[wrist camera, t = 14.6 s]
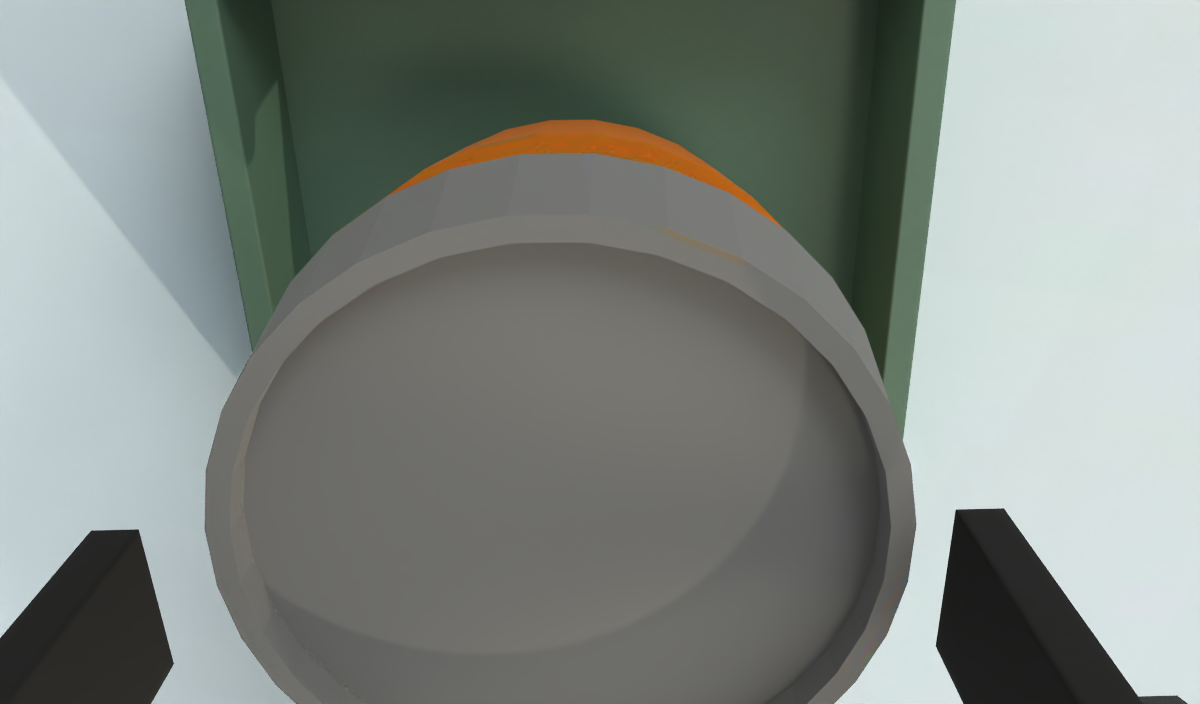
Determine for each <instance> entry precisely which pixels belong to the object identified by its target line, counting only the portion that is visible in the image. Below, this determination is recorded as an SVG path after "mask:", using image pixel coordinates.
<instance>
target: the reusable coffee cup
mask: <svg viewBox="0 0 1200 704" xmlns="http://www.w3.org/2000/svg"><path fill="white" fill-rule="evenodd" d="M915 530H916V516H915V505H914V494H913V483H912V472H911V464H910V461H909V458H908V455H907V452H906V449H905V446H904V443H903V440H902V438H901V435H900V432H899V429H898V426H897V423H896V420H895V417H894V414H893V411H892V408H891V405H890V402H889V399H888V396H887V393H886V390H885V387H884V385H883V382H882V379H881V376H880V373H879V370H878V367H877V364H876V361H875V358H874V355H873V352H872V349H871V346H870V343H869V340H868V338H867V335H866V332H865V329H864V328H863V326H862V324H861V323H860V321H859V320H858V318H857V316H856V315H855V313H854V312H853V310H852V308H851V307H850V305H849V303H848V302H847V300H846V299H845V297H844V295H843V294H842V292H841V291H840V289H839V287H838V286H837V284H836V282H835V281H834V279H833V278H832V277H831V276H830V275H829V273H828V272H827V271H826V270H825V269H824V268H823V267H822V266H821V265H820V264H819V263H818V262H817V261H816V260H815V259H814V258H813V257H812V256H811V255H810V254H809V253H808V252H807V251H806V250H805V249H804V248H803V247H802V246H801V245H800V244H799V243H798V242H797V241H796V240H795V239H794V238H793V237H792V236H791V235H790V234H789V233H788V232H787V231H786V230H785V229H783V228H782V227H781V226H780V225H779V224H778V223H777V222H776V220H775V219H774V218H773V217H772V216H771V215H770V214H769V213H768V212H767V211H766V210H765V209H764V208H763V207H762V206H761V205H760V204H759V203H758V202H757V201H756V200H755V199H754V198H753V197H752V196H750V195H749V194H748V193H746V192H745V191H744V190H742V189H741V188H740V187H738V186H737V185H736V184H734V183H733V182H732V181H730V180H729V179H728V178H727V177H725V176H724V175H723V174H721V173H720V172H719V171H717V170H716V169H715V168H713V167H712V166H710V165H709V164H707V163H706V162H704V161H703V160H701V159H700V158H698V157H697V156H695V155H694V154H692V153H691V152H689V151H688V150H686V149H685V148H683V147H682V146H680V145H679V144H676V143H674V142H671V141H669V140H666V139H664V138H661V137H659V136H657V135H654V134H652V133H649V132H647V131H644V130H642V129H639V128H636V127H630V126H625V125H620V124H615V123H609V122H604V121H599V120H548V121H543V122H539V123H534V124H529V125H525V126H520V127H515V128H510V129H506V130H504V131H502V132H499V133H497V134H495V135H492V136H490V137H488V138H486V139H483V140H481V141H479V142H476V143H474V144H472V145H470V146H467V147H465V148H463V149H462V150H460V151H458V152H456V153H454V154H452V155H450V156H448V157H446V158H445V159H443V160H441V161H439V162H437V163H435V164H433V165H431V166H430V167H428V168H426V169H424V170H423V171H421V172H420V173H419V174H417V175H416V176H414V177H413V178H412V179H410V180H409V181H407V182H406V183H405V184H403V185H402V186H400V187H399V188H398V189H396V190H395V191H393V192H392V193H391V194H389V195H388V196H386V197H385V198H384V199H382V200H381V201H379V202H378V203H377V204H375V205H374V206H372V207H371V208H370V209H368V210H367V211H365V212H364V213H363V214H361V215H360V216H358V217H357V218H356V219H354V220H353V221H352V222H350V223H349V224H347V225H346V226H345V227H343V228H342V229H340V230H339V231H338V232H336V233H335V234H333V235H332V236H331V237H330V238H329V240H328V241H327V242H326V243H325V244H324V245H323V246H322V247H321V248H320V250H319V251H318V252H317V253H316V254H315V255H314V256H313V257H312V259H311V260H310V261H309V262H308V263H307V264H306V265H305V266H304V267H303V269H302V270H301V271H300V272H299V273H298V274H297V275H296V276H295V278H294V279H293V280H292V281H291V282H290V284H289V286H288V287H287V289H286V291H285V293H284V295H283V296H282V298H281V300H280V302H279V304H278V306H277V307H276V309H275V311H274V313H273V315H272V317H271V318H270V320H269V322H268V324H267V326H266V327H265V329H264V331H263V333H262V335H261V337H260V339H259V340H258V342H257V344H256V346H255V348H254V350H253V352H252V354H251V356H250V358H249V360H248V361H247V363H246V365H245V367H244V369H243V371H242V373H241V375H240V377H239V379H238V381H237V382H236V384H235V386H234V388H233V390H232V392H231V394H230V396H229V398H228V400H227V402H226V403H225V405H224V407H223V409H222V411H221V415H220V419H219V423H218V426H217V430H216V434H215V438H214V441H213V445H212V449H211V453H210V456H209V460H208V464H207V468H206V490H205V532H206V537H207V541H208V546H209V551H210V555H211V560H212V564H213V569H214V573H215V578H216V583H217V586H218V589H219V591H220V593H221V595H222V597H223V599H224V601H225V604H226V606H227V608H228V610H229V612H230V614H231V617H232V619H233V621H234V623H235V625H236V627H237V630H238V632H239V634H240V636H241V638H242V639H243V641H244V642H245V643H246V645H247V646H248V648H249V649H250V650H251V652H252V653H253V654H254V656H255V657H256V658H257V660H258V661H259V662H260V664H261V665H262V667H263V668H264V669H265V671H266V672H267V673H268V675H269V676H270V677H271V679H272V680H273V681H274V683H275V684H276V685H277V686H278V687H279V688H280V689H281V690H282V691H283V692H284V693H285V694H286V695H287V696H289V697H290V698H291V699H292V700H293V701H294V702H295V703H296V704H834V703H835V702H836V701H837V700H838V699H839V698H840V697H841V696H842V695H843V694H844V693H845V692H846V691H847V690H848V689H849V688H850V687H851V686H852V685H853V684H854V683H855V682H856V680H857V679H858V677H859V676H860V674H861V673H862V671H863V670H864V668H865V667H866V665H867V664H868V662H869V661H870V659H871V658H872V656H873V655H874V653H875V652H876V650H877V649H878V647H879V646H880V644H881V643H882V641H883V640H884V638H885V637H886V635H887V633H888V631H889V628H890V626H891V623H892V621H893V618H894V615H895V613H896V610H897V608H898V605H899V603H900V600H901V598H902V595H903V593H904V590H905V588H906V585H907V583H908V577H909V570H910V563H911V557H912V550H913V543H914V537H915Z"/></svg>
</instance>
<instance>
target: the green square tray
mask: <svg viewBox="0 0 1200 704" xmlns="http://www.w3.org/2000/svg"><path fill="white" fill-rule="evenodd" d="M955 4H956V0H185V5H186V10H187V15H188V20H189V26H190V31H191V36H192V41H193V46H194V51H195V57H196V62H197V67H198V72H199V77H200V83H201V88H202V93H203V98H204V103H205V109H206V114H207V119H208V124H209V129H210V135H211V140H212V145H213V150H214V155H215V161H216V166H217V171H218V176H219V181H220V187H221V192H222V197H223V202H224V207H225V212H226V218H227V223H228V228H229V233H230V238H231V244H232V249H233V254H234V259H235V264H236V270H237V275H238V280H239V285H240V290H241V296H242V301H243V306H244V311H245V316H246V322H247V327H248V332H249V337H250V342H251V348H252V352H253V350H254V348H255V346H256V344H257V342H258V340H259V339H260V337H261V335H262V333H263V331H264V329H265V327H266V326H267V324H268V322H269V320H270V318H271V317H272V315H273V313H274V311H275V309H276V307H277V306H278V304H279V302H280V300H281V298H282V296H283V295H284V293H285V291H286V289H287V287H288V286H289V284H290V282H291V281H292V280H293V279H294V278H295V276H296V275H297V274H298V273H299V272H300V271H301V270H302V269H303V267H304V266H305V265H306V264H307V263H308V262H309V261H310V260H311V259H312V257H313V256H314V255H315V254H316V253H317V252H318V251H319V250H320V248H321V247H322V246H323V245H324V244H325V243H326V242H327V241H328V240H329V238H330V237H331V236H332V235H333V234H335V233H336V232H338V231H339V230H340V229H342V228H343V227H345V226H346V225H347V224H349V223H350V222H352V221H353V220H354V219H356V218H357V217H358V216H360V215H361V214H363V213H364V212H365V211H367V210H368V209H370V208H371V207H372V206H374V205H375V204H377V203H378V202H379V201H381V200H382V199H384V198H385V197H386V196H388V195H389V194H391V193H392V192H393V191H395V190H396V189H398V188H399V187H400V186H402V185H403V184H405V183H406V182H407V181H409V180H410V179H412V178H413V177H414V176H416V175H417V174H419V173H420V172H421V171H423V170H424V169H426V168H428V167H430V166H431V165H433V164H435V163H437V162H439V161H441V160H443V159H445V158H446V157H448V156H450V155H452V154H454V153H456V152H458V151H460V150H462V149H463V148H465V147H467V146H470V145H472V144H474V143H476V142H479V141H481V140H483V139H486V138H488V137H490V136H492V135H495V134H497V133H499V132H502V131H504V130H506V129H510V128H515V127H520V126H525V125H529V124H534V123H539V122H543V121H548V120H599V121H604V122H609V123H615V124H620V125H625V126H630V127H636V128H639V129H642V130H644V131H647V132H649V133H652V134H654V135H657V136H659V137H661V138H664V139H666V140H669V141H671V142H674V143H676V144H679V145H680V146H682V147H683V148H685V149H686V150H688V151H689V152H691V153H692V154H694V155H695V156H697V157H698V158H700V159H701V160H703V161H704V162H706V163H707V164H709V165H710V166H712V167H713V168H715V169H716V170H717V171H719V172H720V173H721V174H723V175H724V176H725V177H727V178H728V179H729V180H730V181H732V182H733V183H734V184H736V185H737V186H738V187H740V188H741V189H742V190H744V191H745V192H746V193H748V194H749V195H750V196H752V197H753V198H754V199H755V200H756V201H757V202H758V203H759V204H760V205H761V206H762V207H763V208H764V209H765V210H766V211H767V212H768V213H769V214H770V215H771V216H772V217H773V218H774V219H775V220H776V222H777V223H778V224H779V225H780V226H781V227H782V228H783V229H785V230H786V231H787V232H788V233H789V234H790V235H791V236H792V237H793V238H794V239H795V240H796V241H797V242H798V243H799V244H800V245H801V246H802V247H803V248H804V249H805V250H806V251H807V252H808V253H809V254H810V255H811V256H812V257H813V258H814V259H815V260H816V261H817V262H818V263H819V264H820V265H821V266H822V267H823V268H824V269H825V270H826V271H827V272H828V273H829V275H830V276H831V277H832V278H833V279H834V281H835V282H836V284H837V286H838V287H839V289H840V291H841V292H842V294H843V295H844V297H845V299H846V300H847V302H848V303H849V305H850V307H851V308H852V310H853V312H854V313H855V315H856V316H857V318H858V320H859V321H860V323H861V324H862V326H863V328H864V329H865V332H866V335H867V338H868V340H869V343H870V346H871V349H872V352H873V355H874V358H875V361H876V364H877V367H878V370H879V373H880V376H881V379H882V382H883V385H884V387H885V390H886V393H887V396H888V399H889V402H890V405H891V408H892V411H893V414H894V417H895V420H896V423H897V426H898V429H899V432H900V435H901V438H902V440H903V434H904V426H905V418H906V409H907V401H908V393H909V385H910V376H911V368H912V360H913V351H914V343H915V335H916V327H917V318H918V310H919V302H920V294H921V285H922V277H923V269H924V261H925V252H926V244H927V236H928V227H929V219H930V211H931V203H932V194H933V186H934V178H935V170H936V161H937V153H938V145H939V136H940V128H941V120H942V112H943V103H944V95H945V87H946V79H947V70H948V62H949V54H950V45H951V37H952V29H953V21H954V12H955Z"/></svg>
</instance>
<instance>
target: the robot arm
mask: <svg viewBox="0 0 1200 704" xmlns="http://www.w3.org/2000/svg"><path fill="white" fill-rule="evenodd" d="M936 647H937V649H938V652H939V654H940V656H941V658H942V660H943V662H944V664H945V666H946V668H947V670H948V672H949V674H950V677H951V679H952V681H953V683H954V685H955V687H956V689H957V691H958V693H959V695H960V697H961V699H962V702H963V704H1187V703H1186V702H1185V701H1183V700H1182V699H1181V698H1179V697H1178V696H1145V697H1138V696H1137V694H1136V693H1135V692H1134V690H1133V689H1132V687H1131V686H1130V685H1129V683H1128V682H1127V680H1126V679H1125V678H1124V676H1123V675H1122V673H1121V672H1120V671H1119V669H1118V668H1117V666H1116V665H1115V664H1114V662H1113V661H1112V659H1111V658H1110V657H1109V655H1108V654H1107V652H1106V651H1105V650H1104V648H1103V647H1102V645H1101V644H1100V643H1099V641H1098V640H1097V638H1096V637H1095V636H1094V634H1093V633H1092V631H1091V630H1090V629H1089V627H1088V626H1087V624H1086V623H1085V622H1084V620H1083V619H1082V617H1081V616H1080V615H1079V613H1078V612H1077V610H1076V609H1075V608H1074V606H1073V605H1072V603H1071V602H1070V601H1069V599H1068V598H1067V596H1066V595H1065V594H1064V592H1063V591H1062V589H1061V588H1060V587H1059V585H1058V584H1057V582H1056V581H1055V580H1054V578H1053V577H1052V575H1051V574H1050V573H1049V571H1048V570H1047V568H1046V567H1045V566H1044V564H1043V563H1042V561H1041V560H1040V559H1039V557H1038V556H1037V554H1036V553H1035V552H1034V550H1033V549H1032V547H1031V546H1030V545H1029V543H1028V542H1027V540H1026V539H1025V538H1024V536H1023V535H1022V533H1021V532H1020V531H1019V529H1018V528H1017V526H1016V525H1015V524H1014V522H1013V521H1012V519H1011V518H1010V517H1009V515H1008V514H1007V512H1006V511H1005V510H1004V509H966V510H956V512H955V519H954V526H953V533H952V540H951V546H950V553H949V560H948V567H947V574H946V580H945V587H944V594H943V601H942V608H941V614H940V621H939V628H938V635H937V642H936ZM173 664H174V663H173V659H172V655H171V651H170V648H169V644H168V640H167V636H166V632H165V629H164V625H163V621H162V617H161V613H160V609H159V606H158V602H157V598H156V594H155V590H154V586H153V583H152V579H151V575H150V571H149V567H148V564H147V560H146V556H145V552H144V548H143V544H142V541H141V537H140V533H139V530H102V531H91V532H90V533H89V534H88V535H87V536H86V537H85V539H84V540H83V541H82V542H81V543H80V545H79V546H78V547H77V548H76V549H75V550H74V552H73V553H72V554H71V555H70V556H69V558H68V559H67V560H66V561H65V562H64V563H63V565H62V566H61V567H60V568H59V569H58V571H57V572H56V573H55V574H54V575H53V576H52V578H51V579H50V580H49V581H48V582H47V584H46V585H45V586H44V587H43V588H42V589H41V591H40V592H39V593H38V594H37V595H36V597H35V598H34V599H33V600H32V601H31V603H30V604H29V605H28V606H27V607H26V608H25V610H24V611H23V612H22V613H21V614H20V616H19V617H18V618H17V619H16V620H15V621H14V623H13V624H12V625H11V626H10V627H9V629H8V630H7V631H6V632H5V633H4V634H3V636H2V637H1V638H0V704H151V703H152V701H153V699H154V697H155V696H156V694H157V692H158V690H159V689H160V687H161V685H162V683H163V682H164V680H165V678H166V677H167V675H168V673H169V671H170V670H171V668H172V666H173Z"/></svg>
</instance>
